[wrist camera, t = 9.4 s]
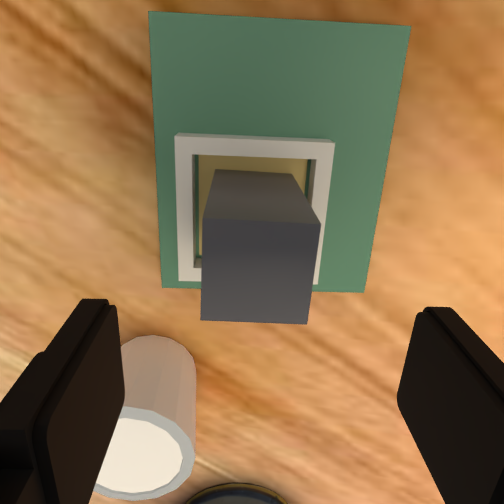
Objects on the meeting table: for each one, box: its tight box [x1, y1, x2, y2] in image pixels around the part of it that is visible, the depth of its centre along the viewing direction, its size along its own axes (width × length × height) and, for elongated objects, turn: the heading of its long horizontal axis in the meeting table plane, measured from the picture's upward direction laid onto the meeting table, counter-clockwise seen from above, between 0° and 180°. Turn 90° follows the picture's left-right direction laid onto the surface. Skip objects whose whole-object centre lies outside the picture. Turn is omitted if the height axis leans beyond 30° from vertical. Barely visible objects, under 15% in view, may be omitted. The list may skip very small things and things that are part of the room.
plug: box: [200, 169, 321, 324], centre depth 18 cm, size 5×4×8 cm
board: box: [148, 11, 411, 293], centre depth 21 cm, size 14×12×3 cm
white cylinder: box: [93, 335, 196, 501], centre depth 24 cm, size 7×7×7 cm
